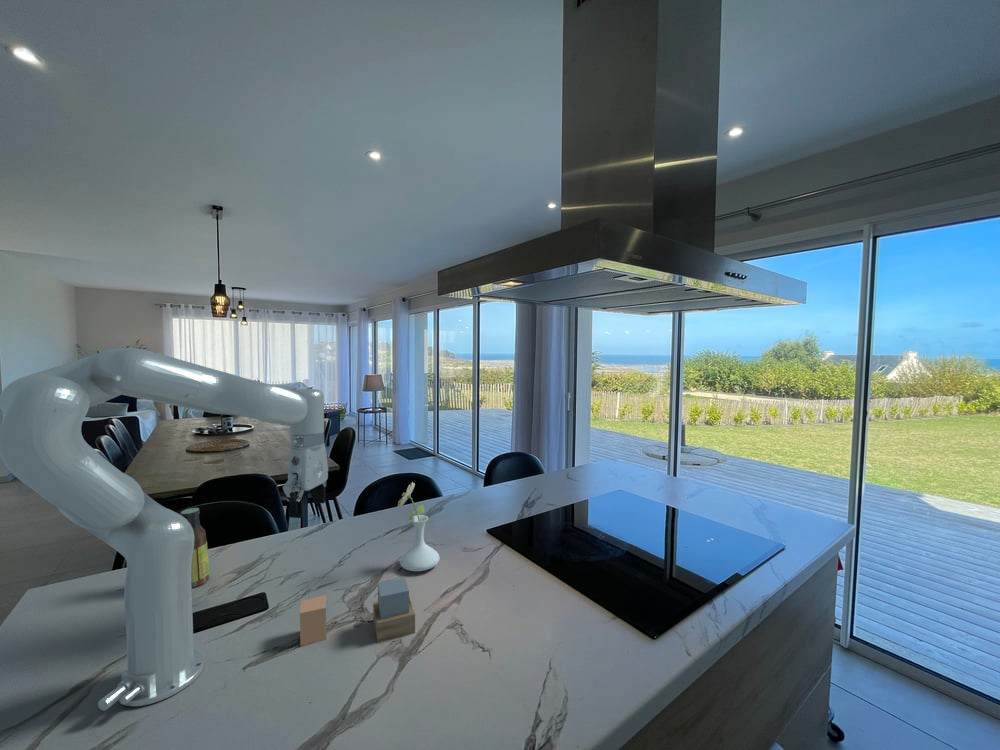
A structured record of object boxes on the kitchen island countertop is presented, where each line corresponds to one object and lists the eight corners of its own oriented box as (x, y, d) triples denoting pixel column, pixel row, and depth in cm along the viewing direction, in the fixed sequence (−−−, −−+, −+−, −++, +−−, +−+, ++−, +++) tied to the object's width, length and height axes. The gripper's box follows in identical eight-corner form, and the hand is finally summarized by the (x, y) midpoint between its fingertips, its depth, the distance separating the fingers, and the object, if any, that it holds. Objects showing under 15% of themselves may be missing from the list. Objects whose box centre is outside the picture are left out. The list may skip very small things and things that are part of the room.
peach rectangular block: (326, 639, 88) (325, 607, 88) (300, 646, 86) (299, 613, 86) (326, 625, 93) (325, 595, 92) (301, 631, 91) (301, 600, 90)
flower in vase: (418, 552, 127) (417, 472, 126) (447, 561, 121) (447, 477, 120) (386, 571, 116) (385, 483, 115) (417, 582, 110) (416, 490, 109)
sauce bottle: (205, 574, 114) (203, 503, 113) (212, 582, 110) (210, 508, 109) (175, 584, 109) (173, 510, 108) (182, 593, 105) (180, 516, 104)
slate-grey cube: (409, 612, 90) (408, 590, 90) (380, 619, 88) (380, 596, 88) (404, 597, 96) (404, 576, 96) (377, 603, 94) (377, 582, 94)
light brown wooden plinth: (415, 634, 90) (415, 614, 90) (377, 644, 87) (377, 623, 87) (408, 613, 97) (408, 594, 97) (373, 621, 94) (373, 602, 94)
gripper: (300, 448, 91) (301, 524, 92) (339, 434, 108) (340, 498, 109) (269, 447, 92) (270, 522, 93) (312, 433, 109) (313, 497, 110)
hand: (307, 509), depth 101 cm, fingers open, 9 cm apart
